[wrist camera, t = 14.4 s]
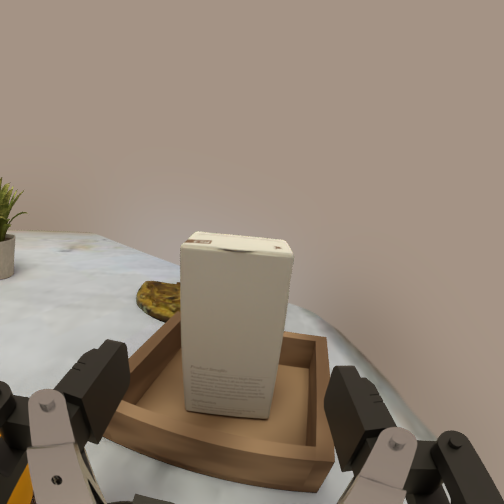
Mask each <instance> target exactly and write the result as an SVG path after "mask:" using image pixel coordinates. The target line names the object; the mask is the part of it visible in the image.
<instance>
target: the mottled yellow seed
mask: <svg viewBox="0 0 504 504" xmlns="http://www.w3.org/2000/svg"><path fill="white" fill-rule="evenodd" d="M136 302H137V305H138V306H139V308H141V309H142V310H143V311H144V312H145V313H147V314H148V315H150V316H151V317H154V318H156V319H158V320H160V321H163V322H165V323H166V322H167V321H168V320H169V319H170V318H171V317H172V316H173V315H174V314H175V313H176V312H177V311H179V312H181V306H180V282H177V284H169V283H163V282H158V281H146V282H145V283H143V285H142V286H141V288H140V289H139V291H138V293H137V297H136Z"/></svg>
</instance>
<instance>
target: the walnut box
mask: <svg viewBox="0 0 504 504" xmlns="http://www.w3.org/2000/svg"><path fill="white" fill-rule="evenodd" d="M128 361H129V368H130V384H129V387H128V390H127V391H126V393H125V395H124V397H123V399H122V400H121V402H120V404H119V406H118V408H117V410H116V412H115V413H114V415H113V417H112V419H111V421H110V423H109V425H108V427H107V428H106V430H105V432H104V434H103V437H105V438H107V439H109V440H111V441H113V442H116V443H118V444H120V445H122V446H124V447H127V448H129V449H131V450H134V451H136V452H139V453H141V454H144V455H146V456H149V457H151V458H154V459H157V460H159V461H162V462H165V463H168V464H171V465H174V466H177V467H180V468H183V469H186V470H190V471H193V472H197V473H200V474H204V475H208V476H211V477H215V478H220V479H224V480H228V481H233V482H238V483H243V484H248V485H253V486H259V487H266V488H273V489H280V490H289V491H299V492H313V493H317V492H318V490H319V488H320V487H321V485H322V483H323V482H324V480H325V478H326V477H327V475H328V473H329V471H330V469H331V468H332V466H333V464H334V462H335V454H334V442H333V439H332V435H331V432H330V428H329V425H328V421H327V418H326V414H325V411H324V396H325V393H326V390H327V387H328V383H329V380H330V370H329V359H328V349H327V339H326V337H321V336H313V335H306V334H299V333H292V332H285V331H284V333H283V339H282V346H281V352H280V358H279V364H278V370H277V375H276V381H275V386H274V392H273V398H272V403H271V408H270V414H269V418H268V419H262V418H247V417H235V416H225V415H216V414H208V413H201V412H193V411H188V410H186V409H185V402H184V385H183V368H182V346H181V312H179V311H177V312H176V313H175V314H174V315H173V316H172V317H171V318H170V319H169V320H168V321H167V322H166V323H165V324H164V325H163V326H162V327H161V328H160V329H159V330H158V331H157V332H156V333H155V334H154V335H153V336H151V337H150V338H149V339H148V340H147V341H146V342H145V343H144V344H143V345H142V346H141V347H140V348H139V349H138V350H137V351H136V352H135V353H134V354H133V355H132V356H131V357H130V358H129V359H128Z"/></svg>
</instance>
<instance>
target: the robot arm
mask: <svg viewBox="0 0 504 504" xmlns="http://www.w3.org/2000/svg"><path fill="white" fill-rule="evenodd" d="M129 384H130V368H129V361H128V353H127V346H126V344H125V343H122V342H118V341H113V340H109V339H107V340H105V342H104V343H103V344H102V345H101V346H100V347H99V349H92V350H90V351H88V352H86V353H85V354H83V355H82V357H81V358H80V359H79V360H78V361H77V363H75V365H74V366H73V367H72V369H70V370H69V372H68V373H67V374H66V375H65V376H64V377H63V379H62V380H61V381H60V382H59V383H58V384H57V386H56V387H55V388H54V389H53V390H52V389H43V390H39V391H37V392H35V393H34V394H33V395H32V396H31V397H30V398H28V397H22V396H16V395H13V394H12V391H11V389H10V387H9V385H8V384H6V383H5V382H2V381H0V435H1V436H0V504H7V502H8V500H9V498H10V496H11V494H12V492H13V490H14V488H15V486H16V485H17V483H18V481H19V479H20V477H21V475H22V473H23V471H24V470H25V468H26V466H27V464H28V465H29V471H30V477H31V482H32V487H33V491H34V496H35V500H36V504H174V503H172V502H167V501H163V500H158V499H154V498H150V497H146V496H142V495H138V494H135V496H134V499H133V502H132V501H120V502H112V503H107V502H106V500H105V498H104V496H103V494H102V492H101V490H100V488H99V486H98V483H97V481H96V478H95V475H94V473H93V470H92V467H91V464H90V462H89V459H88V456H87V453H86V450H85V448H84V447H85V445H86V443H87V441H89V442H92V443H95V444H99V442H100V440H101V438H102V436H103V434H104V432H105V430H106V428H107V427H108V425H109V423H110V421H111V419H112V417H113V415H114V413H115V412H116V410H117V408H118V406H119V404H120V402H121V400H122V399H123V397H124V395H125V393H126V391H127V390H128V387H129ZM324 411H325V414H326V418H327V421H328V425H329V428H330V432H331V435H332V439H333V442H334V446H335V449H336V453H337V456H338V460H339V464H340V467H341V471H342V472H346V471H353V474H354V477H353V478H352V480H351V482H350V483H349V485H348V486H347V488H346V490H345V491H344V493H343V494H342V496H341V497H340V499H339V501H338V502H337V504H403V501H404V499H405V497H406V500H407V503H408V504H450V503H449V500H448V498H447V496H446V493H445V491H444V489H443V486H442V484H443V483H444V484H445V486H446V488H447V491H448V493H449V495H450V498H451V504H504V501H503V499H502V497H501V495H500V493H499V491H498V489H497V488H496V486H495V484H494V482H493V480H492V478H491V477H490V475H489V473H488V471H487V470H486V468H485V466H484V464H483V463H482V461H481V459H480V458H479V456H478V454H477V453H476V451H475V449H474V448H473V446H472V444H471V443H470V441H469V440H468V438H467V437H466V436H465V435H464V434H462V433H460V432H457V431H446V432H444V433H442V434H441V435H440V436H439V438H438V439H437V441H419V440H416V438H415V436H414V435H413V434H412V433H411V432H410V431H408V430H406V429H404V428H400V427H397V426H396V424H395V422H394V420H393V418H392V416H391V415H390V413H389V411H388V409H387V407H386V405H385V403H383V400H382V398H381V396H379V392H378V391H377V389H376V387H375V385H374V384H373V383H371V382H370V381H369V380H368V379H367V378H361V377H360V375H359V373H358V371H357V369H356V368H355V366H335V367H334V368H333V371H332V374H331V377H330V380H329V383H328V387H327V390H326V393H325V396H324Z"/></svg>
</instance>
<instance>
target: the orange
mask: <svg viewBox="0 0 504 504" xmlns="http://www.w3.org/2000/svg"><path fill="white" fill-rule="evenodd" d="M0 436H1V435H0ZM32 497H33V487H32V482H31V477H30V471H29V465H28V464H27V466H26V468H25V470H24V471H23V473H22V475H21V477H20V479H19V481H18V483H17V485H16V486H15V488H14V490H13V492H12V494H11V496H10V498H9V500H8V502H7V504H30V503H31V500H32Z"/></svg>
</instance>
